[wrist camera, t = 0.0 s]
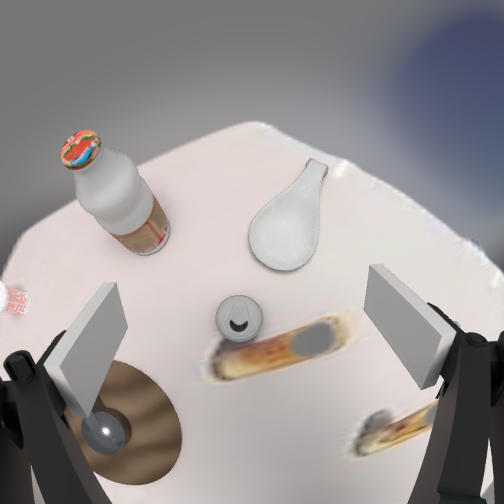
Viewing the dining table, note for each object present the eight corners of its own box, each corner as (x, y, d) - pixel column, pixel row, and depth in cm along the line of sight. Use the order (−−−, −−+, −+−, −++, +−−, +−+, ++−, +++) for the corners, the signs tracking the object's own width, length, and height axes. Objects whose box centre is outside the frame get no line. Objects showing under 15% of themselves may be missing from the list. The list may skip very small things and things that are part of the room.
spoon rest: (297, 285, 51) (306, 277, 45) (237, 256, 53) (236, 244, 46) (340, 181, 58) (351, 162, 51) (289, 157, 59) (294, 136, 52)
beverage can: (219, 339, 48) (213, 340, 37) (222, 302, 50) (216, 292, 38) (257, 341, 48) (262, 343, 37) (259, 304, 50) (265, 295, 39)
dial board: (210, 455, 42) (209, 458, 41) (108, 495, 37) (106, 497, 36) (130, 335, 48) (127, 334, 46) (40, 389, 43) (37, 390, 42)
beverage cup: (18, 286, 49) (-24, 271, 35) (35, 294, 48) (-8, 280, 35) (12, 312, 47) (-31, 302, 33) (29, 321, 47) (-15, 313, 33)
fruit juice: (147, 266, 51) (67, 200, 24) (115, 236, 52) (33, 159, 26) (180, 228, 53) (133, 133, 26) (147, 200, 55) (89, 103, 28)
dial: (140, 438, 41) (129, 448, 36) (109, 451, 40) (96, 461, 34) (91, 357, 45) (75, 358, 39) (63, 374, 43) (47, 376, 38)
